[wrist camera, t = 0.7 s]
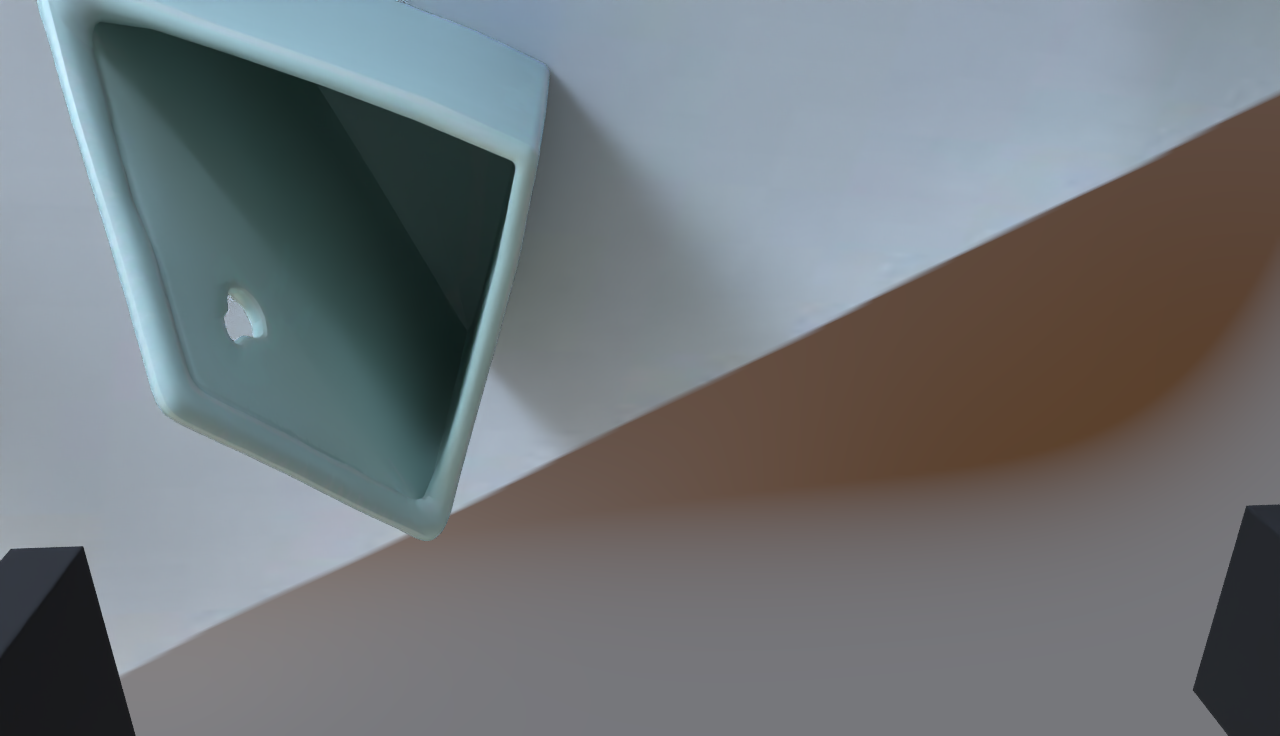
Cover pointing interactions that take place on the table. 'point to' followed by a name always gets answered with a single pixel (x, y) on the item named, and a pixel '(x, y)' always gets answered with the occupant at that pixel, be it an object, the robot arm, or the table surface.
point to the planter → (311, 224)
